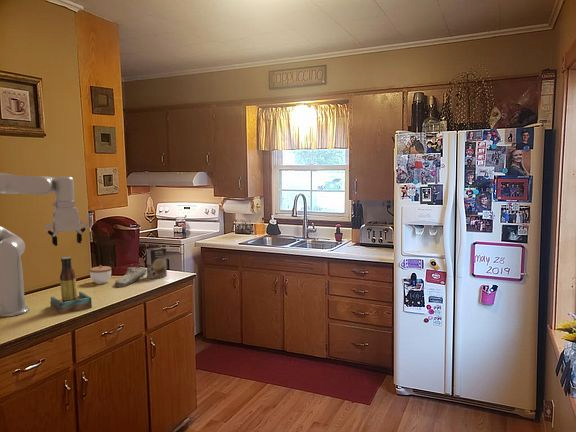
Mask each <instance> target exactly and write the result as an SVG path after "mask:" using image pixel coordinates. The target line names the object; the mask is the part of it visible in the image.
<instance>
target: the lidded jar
mask: <svg viewBox="0 0 576 432" xmlns="http://www.w3.org/2000/svg"><path fill="white" fill-rule="evenodd" d="M89 275H90V279H91V280H92V282H94V283H95V284H97V285H103V284H104V285H105V284H107V283H108V281H109V280H110V279H111V277H112V267H111V266H108V265H107V266H106V265H104V266H103V265H101V264H99V266H94V267H91V268H89Z"/></svg>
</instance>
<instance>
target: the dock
mask: <svg viewBox="0 0 576 432" xmlns="http://www.w3.org/2000/svg"><path fill="white" fill-rule="evenodd" d="M92 302H93V301H92V297H91V296H90V295H87V294H86V293H84V292H82V291H79V292H78V295H77V300H73V301H67V302H63V301H62V298H59V299H57V298H56V297H54V296H50V308H52V309H53V310H55V311H56V313H58V314H60V315H61V314H67V313H72V312H75V311H76V312H78V311H81V310H87V309H92V307H93V305H92Z"/></svg>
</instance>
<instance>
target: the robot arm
mask: <svg viewBox="0 0 576 432" xmlns="http://www.w3.org/2000/svg"><path fill="white" fill-rule="evenodd" d="M52 193H53V194H54V198H55V201H54V202H52V203H51V206H52V207H54V210H53V214H52V215H53V217H52V222H50V223H49V224H47V225H45V226H44V230H45V232H47V234H49V236H51V242H52V243H51V244H52V245H53V246H54V247H57V246H58V237H57V235H58V233H65V232H76V243H77V244H81V243H82V242H83V237H82V236H83V234H84V232H85V231H86V229H87V227H88V223H86V222H85V221H81V220H80V214H79V213H80V212H79V210H78V207H76V199H75V198H76V197H75V181H74V178H73V177H72V176H50V175H49V176H48V175H39V176H35V175H34V176H33V175H29V176H28V175H17V174H13V173H12V174H11V173H9V172H8V173H6V172H0V194H3V195H6V194H7V195H13V194H15V195H17V194H19V195H40V196H41V195H43V196H44V195H46V194H52ZM81 225H82V227H81ZM50 228H52V229H53V231H51V229H50ZM25 251H26V243H25V241H24V239H23V238H21V237H20V236H18V235H16V234H15V233H13V232H12V231H10V230H8V229H7V228H5V227H3V226H1V225H0V317H4V318H5V317H15V316H20V315H23V314H26V313H28V312H29V311H30V307H29V306H28V305H26V301H25V288H24V287H25V286H24V285H25V284H24V271H23V264H22V258H21V257H22V255H23V254H24V253H25Z"/></svg>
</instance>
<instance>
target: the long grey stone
mask: <svg viewBox="0 0 576 432" xmlns="http://www.w3.org/2000/svg"><path fill="white" fill-rule="evenodd" d="M146 274H147V267H136V266H132V267H131V266H129V267H127V268H126V272H125V274H124V275H122V276H120V277H119V278H118V279H116V280H114V281H115V282H114V286H115V287H117V288H126V287H127V286H129V285H131V284H133V283H135V282H137V281H139V279H140V278H142V277H143V276H145V275H146Z"/></svg>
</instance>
